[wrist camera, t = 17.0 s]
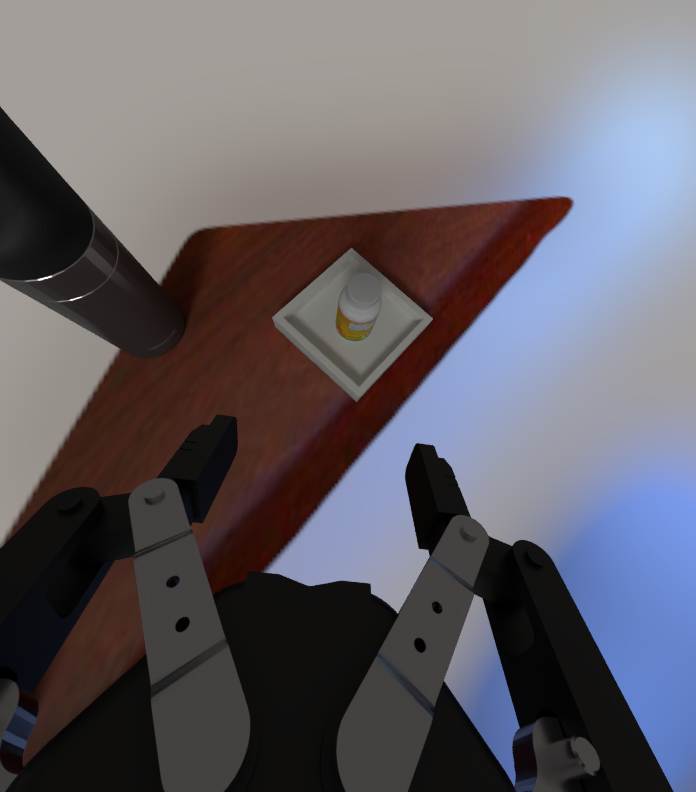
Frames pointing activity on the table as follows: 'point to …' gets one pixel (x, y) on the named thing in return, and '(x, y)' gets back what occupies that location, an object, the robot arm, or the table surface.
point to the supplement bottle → (358, 307)
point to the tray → (319, 340)
